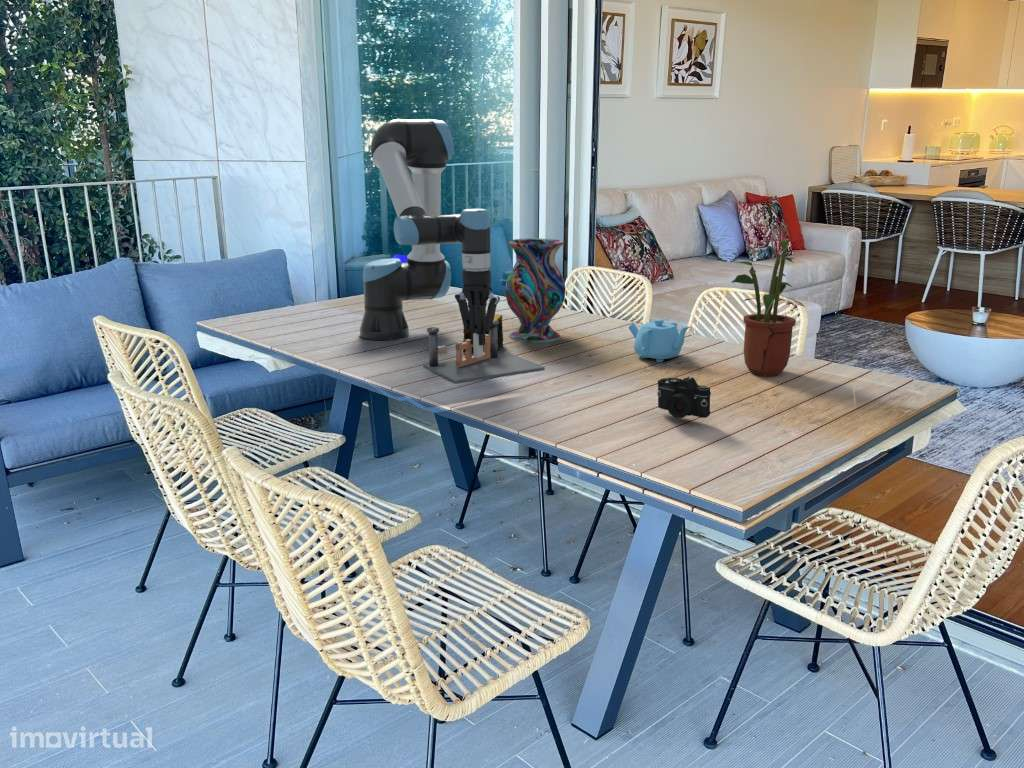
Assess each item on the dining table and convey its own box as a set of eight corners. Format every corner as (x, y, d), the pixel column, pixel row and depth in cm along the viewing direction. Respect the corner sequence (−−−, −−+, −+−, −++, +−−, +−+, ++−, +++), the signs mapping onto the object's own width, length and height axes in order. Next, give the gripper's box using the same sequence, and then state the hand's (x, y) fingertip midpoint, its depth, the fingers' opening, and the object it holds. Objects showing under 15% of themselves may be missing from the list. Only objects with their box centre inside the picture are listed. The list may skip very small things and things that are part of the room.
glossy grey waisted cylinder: (485, 358, 244) (485, 321, 241) (495, 357, 245) (495, 319, 243) (491, 361, 241) (490, 323, 238) (501, 359, 243) (501, 321, 240)
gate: (486, 356, 242) (486, 334, 240) (490, 357, 241) (490, 334, 239) (455, 366, 232) (455, 342, 230) (460, 367, 231) (459, 343, 229)
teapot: (680, 353, 251) (682, 314, 248) (688, 365, 238) (690, 324, 235) (627, 353, 251) (628, 314, 248) (632, 364, 238) (634, 324, 235)
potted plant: (791, 370, 233) (803, 238, 223) (789, 384, 219) (802, 245, 209) (725, 364, 238) (734, 236, 229) (719, 378, 224) (728, 242, 215)
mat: (423, 366, 235) (423, 364, 235) (508, 354, 249) (508, 352, 248) (455, 383, 220) (455, 380, 219) (544, 369, 233) (544, 367, 233)
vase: (496, 342, 264) (495, 243, 255) (518, 330, 280) (518, 236, 272) (552, 347, 257) (554, 246, 249) (572, 335, 273) (574, 239, 265)
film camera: (644, 414, 197) (647, 379, 190) (661, 397, 201) (664, 363, 195) (696, 437, 190) (702, 402, 184) (713, 419, 195) (718, 384, 188)
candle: (496, 355, 248) (496, 321, 245) (462, 353, 250) (461, 319, 247) (504, 347, 258) (504, 314, 255) (471, 345, 260) (470, 312, 257)
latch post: (423, 366, 236) (422, 327, 233) (444, 363, 239) (443, 324, 236) (431, 369, 232) (430, 330, 229) (452, 366, 235) (451, 327, 232)
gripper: (448, 269, 227) (450, 356, 233) (490, 272, 221) (491, 362, 227) (463, 265, 233) (465, 351, 240) (505, 268, 227) (506, 356, 233)
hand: (478, 356), depth 233 cm, fingers closed
